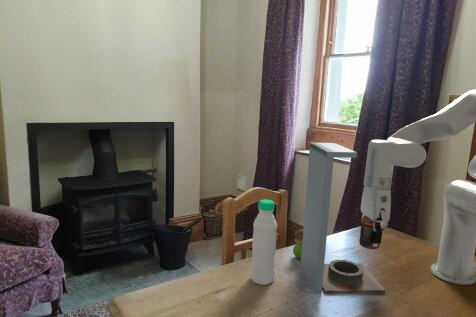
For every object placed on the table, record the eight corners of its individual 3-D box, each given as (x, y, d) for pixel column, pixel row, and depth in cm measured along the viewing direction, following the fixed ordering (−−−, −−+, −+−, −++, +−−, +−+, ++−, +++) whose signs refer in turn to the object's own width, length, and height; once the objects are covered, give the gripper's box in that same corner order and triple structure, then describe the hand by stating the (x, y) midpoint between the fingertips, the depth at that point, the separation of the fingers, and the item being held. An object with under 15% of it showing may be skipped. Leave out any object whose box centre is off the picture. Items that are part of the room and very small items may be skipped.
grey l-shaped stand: (323, 265, 118) (334, 143, 110) (342, 294, 101) (356, 152, 93) (300, 265, 117) (309, 142, 109) (315, 294, 100) (327, 151, 93)
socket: (361, 266, 118) (362, 255, 117) (384, 293, 103) (386, 280, 102) (309, 266, 117) (310, 255, 116) (324, 293, 101) (326, 281, 100)
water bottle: (258, 271, 112) (262, 196, 108) (277, 278, 108) (283, 200, 104) (246, 280, 107) (249, 201, 102) (266, 288, 103) (271, 206, 98)
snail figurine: (310, 263, 119) (312, 229, 117) (291, 259, 121) (293, 226, 119) (312, 256, 124) (314, 224, 122) (293, 253, 126) (296, 221, 124)
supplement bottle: (381, 251, 105) (386, 215, 103) (360, 248, 106) (364, 212, 104) (377, 243, 110) (382, 208, 108) (357, 240, 112) (361, 206, 109)
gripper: (405, 189, 96) (396, 251, 100) (376, 175, 113) (369, 228, 116) (379, 189, 96) (371, 251, 99) (353, 174, 113) (347, 227, 116)
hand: (370, 238), depth 108 cm, fingers closed on supplement bottle, 6 cm apart
